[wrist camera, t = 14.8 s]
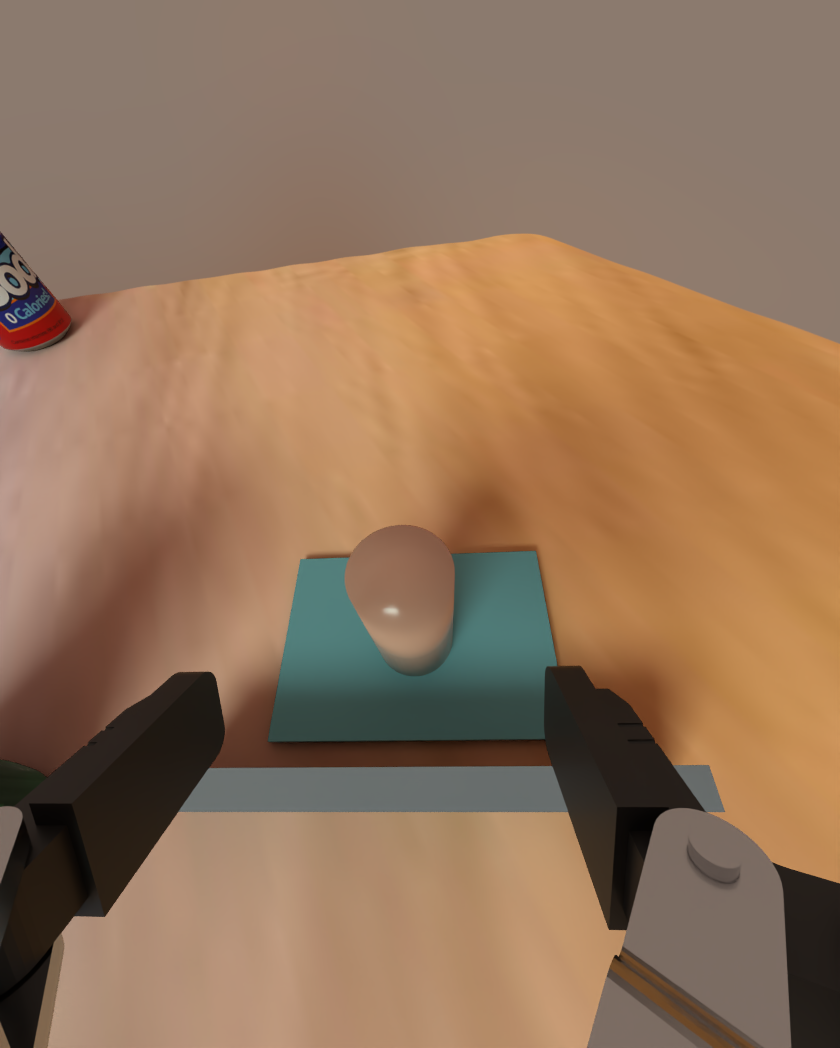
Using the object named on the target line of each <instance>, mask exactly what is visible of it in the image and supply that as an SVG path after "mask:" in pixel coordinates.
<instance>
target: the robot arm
mask: <svg viewBox="0 0 840 1048" xmlns="http://www.w3.org/2000/svg"><path fill="white" fill-rule="evenodd" d="M224 733H225V727H224V720H223V715H222V709H221V704H220V698H219V693H218V687H217V682H216V678H215V676H214V675H213V673H211V672H178V673H176V674H174V675H173V676H171V677H170V678H169V679H168V680H167V681H166V682H165V683H164V684H162V685H161V686H160V687H159V688H158V689H157V690H156V691H155V692H153V693H152V694H151V695H150V696H148V697H146V698H145V699H143V700H141V701H140V702H138V703H136V704H134V705H133V706H131V707H129V708H128V709H126V710H125V711H124V712H122V713H121V714H120V715H119V716H118V717H117V718H116V719H114V720H113V721H112V722H111V723H110V724H109V725H107V726H106V729H105V731H101V732H99V733H98V734H97V735H96V736H95V737H94V738H92V739H91V740H90V741H89V742H88V745H87V746H83V747H82V748H81V749H80V750H79V751H77V752H76V753H75V754H74V755H73V756H72V757H70V758H69V759H68V760H67V761H66V762H65V763H64V764H62V765H61V766H60V767H59V768H58V769H57V770H55V771H54V772H53V773H52V774H51V775H50V776H49V777H47V778H46V779H45V780H44V781H43V782H42V783H40V784H39V785H38V786H37V787H36V788H35V789H33V790H32V791H31V792H30V793H29V794H28V795H27V796H25V797H24V798H23V799H22V800H21V801H20V802H18V803H17V804H16V805H15V806H14V807H11V806H3V807H0V1048H47V1047H48V1041H49V1035H50V1030H51V1024H52V1018H53V1012H54V1006H55V1000H56V994H57V988H58V982H59V977H60V971H61V965H62V959H63V953H64V940H63V937H62V934H61V932H62V931H63V930H64V929H65V927H66V926H67V925H68V923H69V922H70V921H71V919H72V918H73V917H74V916H92V917H105V916H106V914H107V913H108V912H109V910H110V909H111V907H112V906H113V904H114V903H115V902H116V900H117V899H118V897H119V896H120V894H121V893H122V892H123V890H124V889H125V887H126V886H127V884H128V883H129V882H130V880H131V879H132V877H133V876H134V874H135V873H136V872H137V870H138V869H139V867H140V866H141V864H142V863H143V862H144V860H145V859H146V857H147V856H148V854H149V853H150V852H151V850H152V849H153V847H154V846H155V844H156V843H157V842H158V840H159V839H160V837H161V836H162V834H163V833H164V831H165V830H166V829H167V827H168V826H169V824H170V823H171V821H172V820H173V819H174V817H175V816H176V814H177V813H178V811H179V810H180V809H181V807H182V806H183V804H184V803H185V801H186V800H187V799H188V797H189V796H190V794H191V793H192V791H193V790H194V789H195V787H196V786H197V784H198V783H199V781H200V780H201V779H202V777H203V776H204V774H205V773H206V771H207V770H208V769H209V767H210V766H211V764H212V763H213V761H214V760H215V759H216V757H217V755H218V754H219V752H220V750H221V747H222V744H223V740H224ZM544 734H545V741H546V746H547V751H548V754H549V758H550V760H551V763H552V766H553V769H554V772H555V775H556V778H557V781H558V784H559V787H560V789H561V792H562V795H563V798H564V801H565V804H566V807H567V810H568V813H569V816H570V818H571V821H572V824H573V827H574V830H575V833H576V836H577V839H578V842H579V845H580V848H581V850H582V853H583V856H584V859H585V862H586V865H587V868H588V871H589V874H590V877H591V879H592V882H593V885H594V888H595V891H596V894H597V897H598V900H599V903H600V906H601V909H602V911H603V914H604V917H605V920H606V923H607V926H608V929H609V930H627V931H626V935H625V939H624V943H623V946H622V950H621V953H620V955H619V957H618V956H617V955H615V956H614V958H613V960H612V962H611V965H610V968H609V971H608V974H607V977H606V981H605V984H604V988H603V991H602V995H601V999H600V1002H599V1006H598V1010H597V1013H596V1017H595V1021H594V1024H593V1028H592V1031H591V1035H590V1039H589V1042H588V1046H587V1048H840V884H839V883H836V882H832V881H829V880H826V879H822V878H819V877H815V876H812V875H809V874H805V873H802V872H798V871H795V870H792V869H789V868H786V867H783V866H780V865H777V864H775V863H773V862H771V861H770V859H769V858H768V857H767V855H766V854H765V853H764V852H763V851H762V849H761V848H760V847H759V846H758V845H757V844H756V843H755V842H754V841H753V840H751V839H750V838H749V837H748V836H747V835H746V834H744V833H743V832H742V831H740V830H739V829H738V828H736V827H734V826H733V825H731V824H730V823H728V822H726V821H724V820H722V819H720V818H719V817H716V816H714V815H711V814H709V813H706V811H705V810H704V808H703V807H702V806H701V804H700V803H699V801H698V800H697V799H696V797H695V796H694V794H693V793H692V792H691V790H690V789H689V787H688V786H687V785H686V783H685V782H684V780H683V779H682V778H681V776H680V775H679V773H678V772H677V771H676V769H675V768H674V766H673V765H672V764H671V762H670V761H669V759H668V758H667V756H666V755H665V754H664V752H663V751H662V749H661V748H660V747H659V745H658V744H655V741H654V738H653V737H652V735H651V734H650V733H649V731H648V730H647V728H646V727H643V723H642V721H641V720H640V719H639V717H638V716H637V714H636V713H635V712H634V710H633V709H632V707H631V706H630V705H629V704H628V703H627V702H626V701H624V700H623V699H622V698H620V697H619V696H618V695H616V694H615V693H614V692H612V691H611V690H610V689H595V687H594V686H593V684H592V683H591V681H590V679H589V678H588V676H587V674H586V673H585V671H584V670H583V668H582V667H581V666H547V667H546V670H545V689H544Z"/></svg>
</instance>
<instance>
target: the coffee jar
mask: <svg viewBox="0 0 840 1048" xmlns="http://www.w3.org/2000/svg"><path fill="white" fill-rule="evenodd" d="M46 778H47V777H46V776H44V775H43V774H42V773H41V772H39V771H37V770H35V769H32V768H30V767H27V766H24V765H21V764H18V763H14V762H11V761H6V760H0V807H3V806H11V807H14V806H15V805H16V804H17V803H18V802H20V801H21V800H22V799H23V798H24V797H25V796H27V795H28V794H29V793H30V792H31V791H32V790H33V789H35V788H36V787H37V786H38V785H39V784H40V783H42V782H43V781H44V780H45V779H46Z"/></svg>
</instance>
